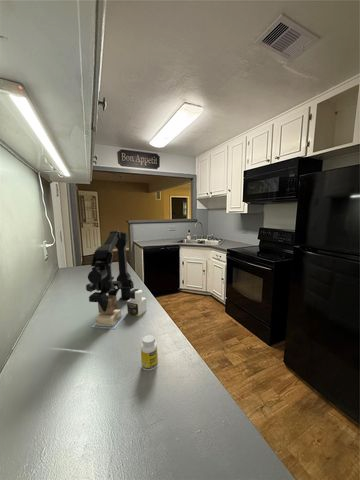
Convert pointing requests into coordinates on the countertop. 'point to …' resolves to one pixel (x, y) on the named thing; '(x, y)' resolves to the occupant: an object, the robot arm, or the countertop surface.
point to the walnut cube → (109, 304)
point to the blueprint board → (109, 326)
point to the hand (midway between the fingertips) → (108, 307)
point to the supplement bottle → (149, 353)
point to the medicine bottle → (136, 303)
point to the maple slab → (108, 318)
